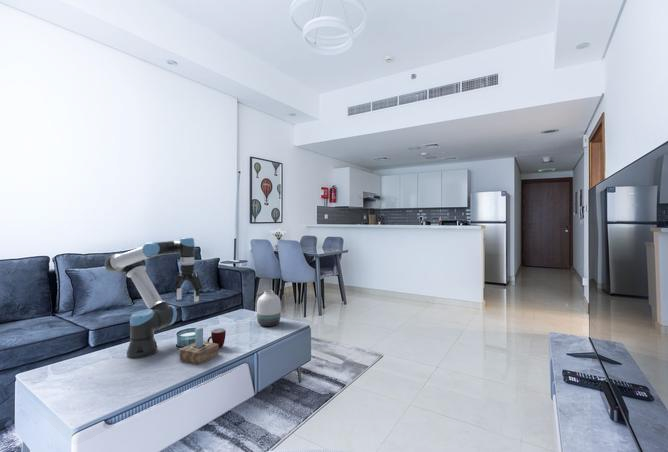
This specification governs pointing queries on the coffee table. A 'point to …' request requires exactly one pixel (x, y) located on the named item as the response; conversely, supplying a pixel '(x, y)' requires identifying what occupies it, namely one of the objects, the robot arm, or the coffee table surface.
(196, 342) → the peg
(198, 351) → the socket block
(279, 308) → the vase
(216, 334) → the mug
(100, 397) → the coffee table surface
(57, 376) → the coffee table surface
